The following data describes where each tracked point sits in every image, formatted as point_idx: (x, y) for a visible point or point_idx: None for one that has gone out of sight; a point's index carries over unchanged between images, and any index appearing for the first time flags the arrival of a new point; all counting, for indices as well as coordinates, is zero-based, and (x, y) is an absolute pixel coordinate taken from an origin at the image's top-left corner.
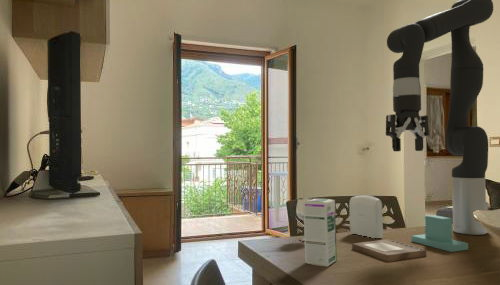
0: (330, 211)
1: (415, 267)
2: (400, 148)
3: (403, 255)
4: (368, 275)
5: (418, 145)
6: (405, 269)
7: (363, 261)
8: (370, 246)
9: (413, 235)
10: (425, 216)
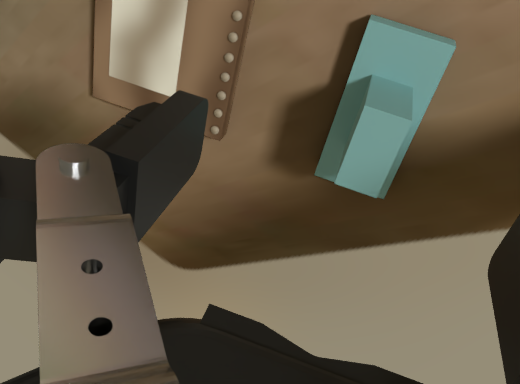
0: None
1: None
2: (182, 180)
3: None
4: (5, 110)
5: (516, 281)
6: None
7: (57, 42)
8: (116, 10)
9: (378, 23)
10: (364, 106)
